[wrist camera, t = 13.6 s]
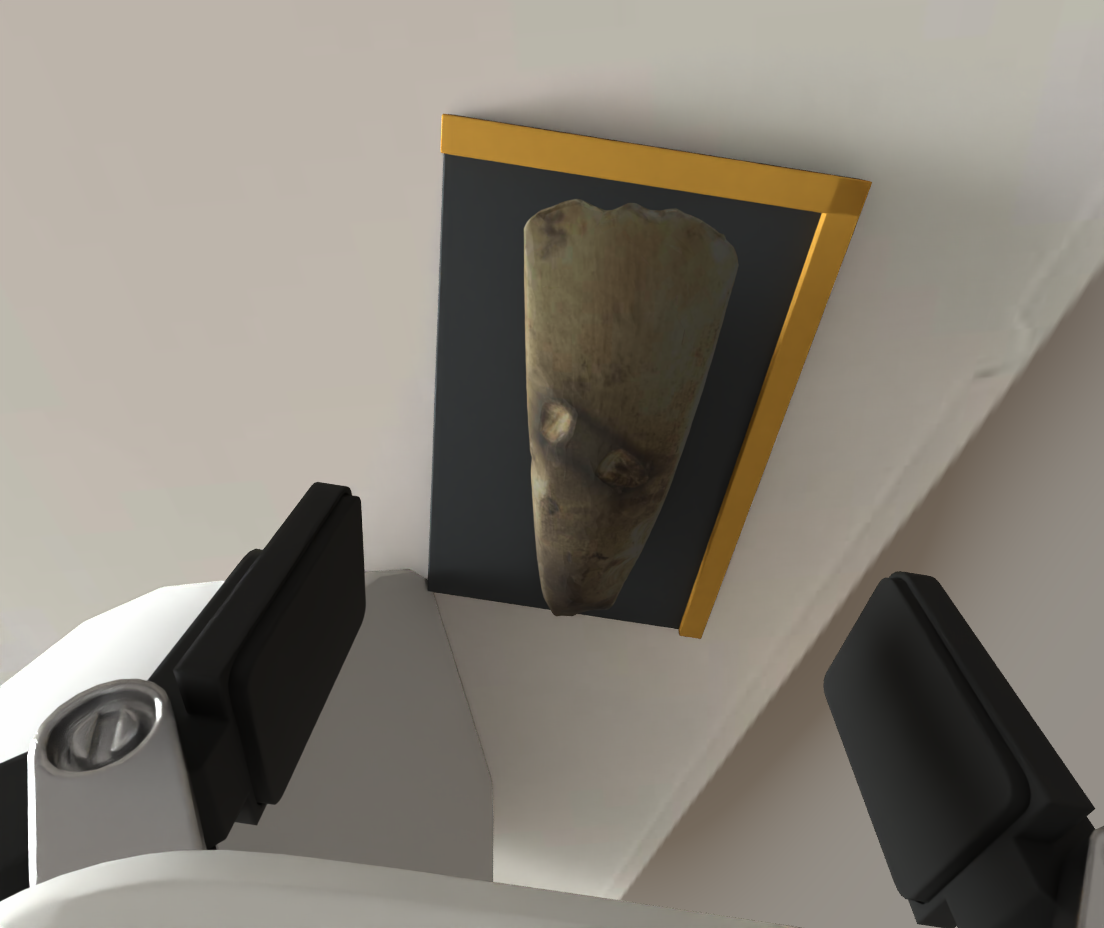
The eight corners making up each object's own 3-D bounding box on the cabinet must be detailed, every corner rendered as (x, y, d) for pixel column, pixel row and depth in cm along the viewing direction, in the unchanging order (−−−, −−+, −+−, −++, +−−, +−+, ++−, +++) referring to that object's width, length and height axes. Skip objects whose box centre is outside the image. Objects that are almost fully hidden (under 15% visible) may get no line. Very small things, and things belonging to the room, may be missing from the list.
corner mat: (449, 114, 14) (441, 113, 13) (859, 178, 14) (873, 181, 14) (430, 582, 22) (425, 597, 21) (698, 623, 22) (701, 639, 21)
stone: (531, 187, 14) (520, 199, 12) (738, 196, 14) (759, 210, 12) (526, 588, 21) (518, 636, 19) (666, 599, 21) (672, 649, 19)
